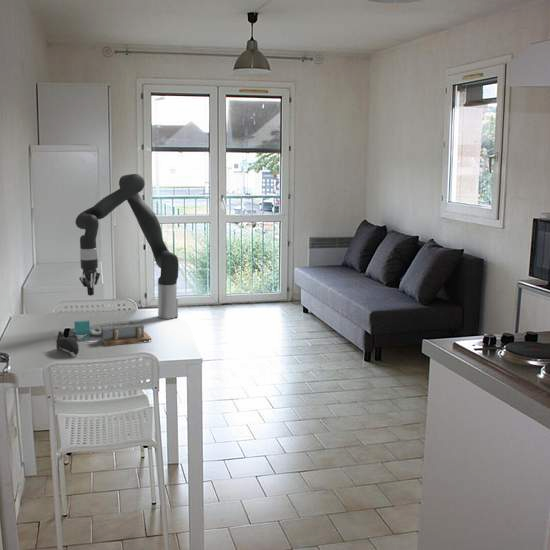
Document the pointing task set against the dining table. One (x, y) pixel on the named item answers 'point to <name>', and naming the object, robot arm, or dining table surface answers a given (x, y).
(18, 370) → the dining table surface
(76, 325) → the teal handled round piece
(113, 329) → the bar
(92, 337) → the gray base plate
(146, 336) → the peg rack
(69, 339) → the figurine
